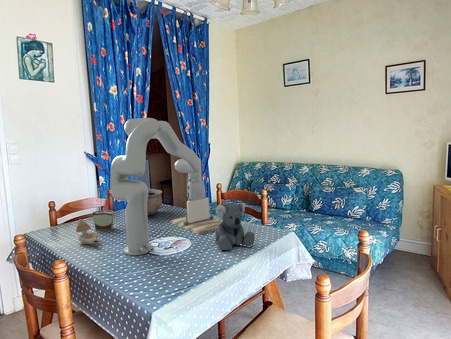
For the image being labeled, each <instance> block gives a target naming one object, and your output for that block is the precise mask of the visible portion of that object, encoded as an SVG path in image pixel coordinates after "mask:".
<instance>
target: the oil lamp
mask: <svg viewBox="0 0 451 339" xmlns="http://www.w3.org/2000/svg"><path fill="white" fill-rule="evenodd" d="M76 224H77V225H76V229H75V232H76V233H82V234H80V235H79V236H78V241H79V242H80V243H81V244H82V245H92V246H98V245H99V243H100V242H101V241H100V239H98V238H99V235H98V232H89V233H88V231H89V230H92V227H91V226H90V224H88V223H87V222H86V221H84V220H83V219H81V218H79V219H78V222H77V223H76Z"/></svg>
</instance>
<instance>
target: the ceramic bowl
mask: <svg viewBox="0 0 451 339" xmlns="http://www.w3.org/2000/svg"><path fill="white" fill-rule="evenodd" d="M162 193H163V191H162V190H161V189H154V188H148V199H147V216H150V215H153V214H156V213H157V212H158V211H159V210H160V208H161V207H162V204H163V199H162ZM126 202H127V201H126ZM127 204H128V202H127Z"/></svg>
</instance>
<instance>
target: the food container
mask: <svg viewBox="0 0 451 339" xmlns="http://www.w3.org/2000/svg"><path fill="white" fill-rule="evenodd" d="M91 216H92V219H93V224H94V230H95V231H113V228H114V216H115V211H114V210H112V209H102V210H101V209H100V210H96V211H92V213H91Z"/></svg>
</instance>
